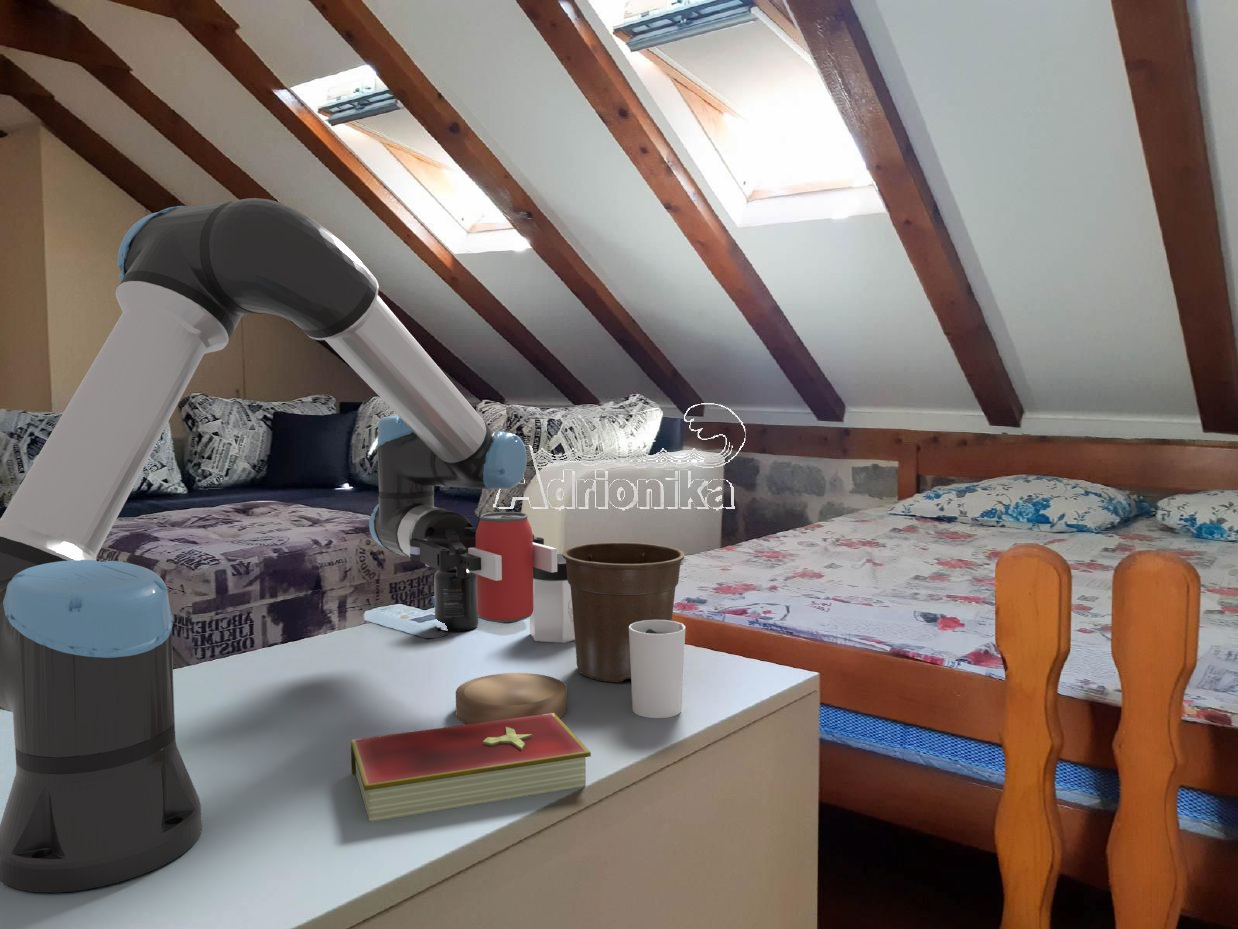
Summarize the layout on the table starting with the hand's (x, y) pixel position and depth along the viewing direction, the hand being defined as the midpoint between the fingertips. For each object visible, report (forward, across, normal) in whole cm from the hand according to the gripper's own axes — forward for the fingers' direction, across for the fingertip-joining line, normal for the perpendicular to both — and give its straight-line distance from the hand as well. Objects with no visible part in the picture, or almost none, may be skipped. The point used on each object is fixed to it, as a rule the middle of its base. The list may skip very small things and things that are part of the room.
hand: (526, 564), depth 107 cm
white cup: (+5, -14, -18) cm, 24 cm away
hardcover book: (+10, +13, -19) cm, 25 cm away
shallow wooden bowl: (-5, 0, -18) cm, 19 cm away
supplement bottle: (-44, -13, -19) cm, 49 cm away
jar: (-30, -23, -19) cm, 42 cm away
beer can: (-5, 0, -7) cm, 9 cm away
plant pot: (-10, -20, -19) cm, 29 cm away
